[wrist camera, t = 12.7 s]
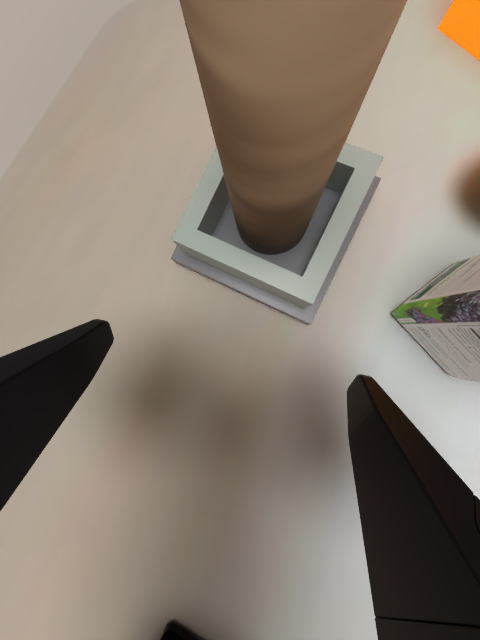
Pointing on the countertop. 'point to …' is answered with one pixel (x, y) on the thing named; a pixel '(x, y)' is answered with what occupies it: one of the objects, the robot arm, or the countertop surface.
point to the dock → (286, 268)
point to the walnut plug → (284, 99)
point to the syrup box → (448, 318)
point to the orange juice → (463, 25)
